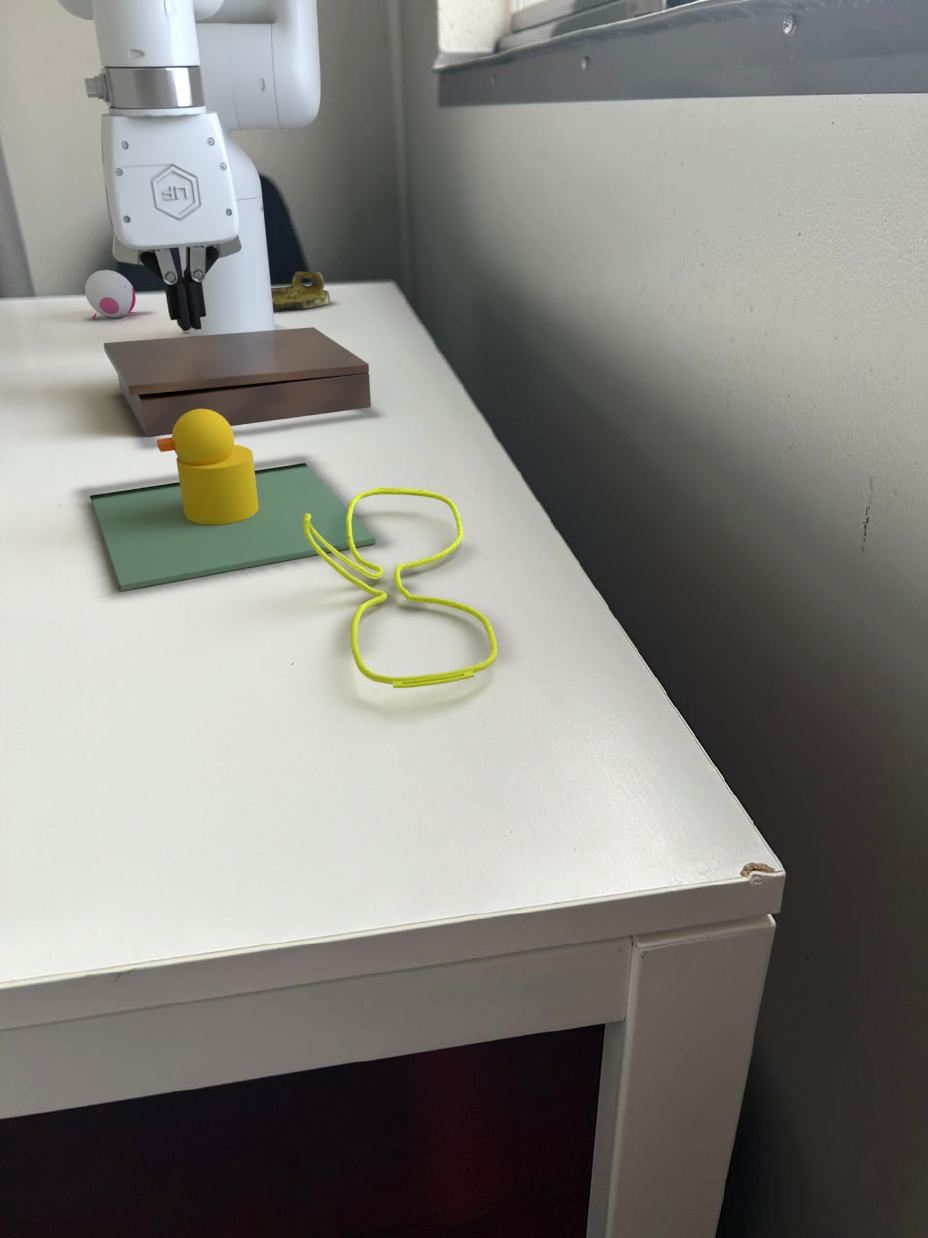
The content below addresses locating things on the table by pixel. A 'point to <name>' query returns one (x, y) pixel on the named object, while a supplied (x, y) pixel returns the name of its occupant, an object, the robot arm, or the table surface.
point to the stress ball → (110, 294)
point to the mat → (219, 529)
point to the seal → (300, 293)
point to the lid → (229, 360)
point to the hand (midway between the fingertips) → (189, 326)
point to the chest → (252, 401)
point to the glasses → (399, 681)
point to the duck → (212, 469)
